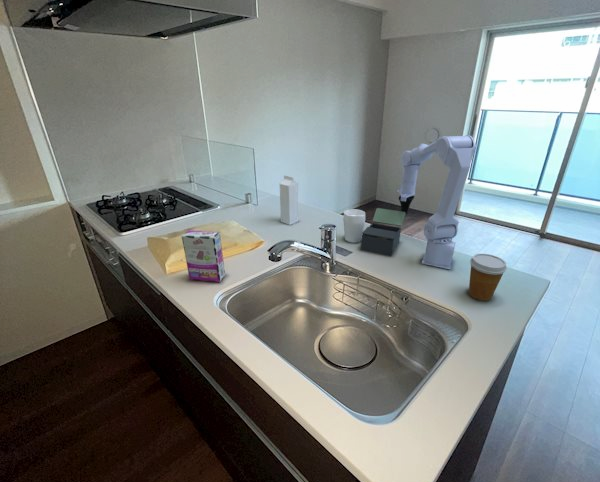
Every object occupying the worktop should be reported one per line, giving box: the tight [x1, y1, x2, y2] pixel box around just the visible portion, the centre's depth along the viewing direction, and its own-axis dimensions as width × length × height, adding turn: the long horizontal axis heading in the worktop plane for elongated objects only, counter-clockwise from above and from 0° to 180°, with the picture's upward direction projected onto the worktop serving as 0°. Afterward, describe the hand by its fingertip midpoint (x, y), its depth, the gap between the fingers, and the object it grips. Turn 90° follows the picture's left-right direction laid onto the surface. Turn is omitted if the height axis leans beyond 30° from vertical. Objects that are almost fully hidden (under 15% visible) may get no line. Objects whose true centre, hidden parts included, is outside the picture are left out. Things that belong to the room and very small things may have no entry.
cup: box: [342, 208, 367, 244], centre depth 133 cm, size 9×9×12 cm
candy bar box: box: [181, 229, 226, 283], centre depth 106 cm, size 11×5×16 cm, turn 80°
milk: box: [279, 175, 299, 226], centre depth 150 cm, size 6×6×22 cm
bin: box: [360, 222, 402, 257], centre depth 128 cm, size 14×12×7 cm
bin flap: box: [372, 207, 406, 227], centre depth 134 cm, size 7×12×1 cm
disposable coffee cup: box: [468, 253, 508, 302], centre depth 96 cm, size 10×10×12 cm
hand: (404, 212), depth 135 cm, fingers closed
